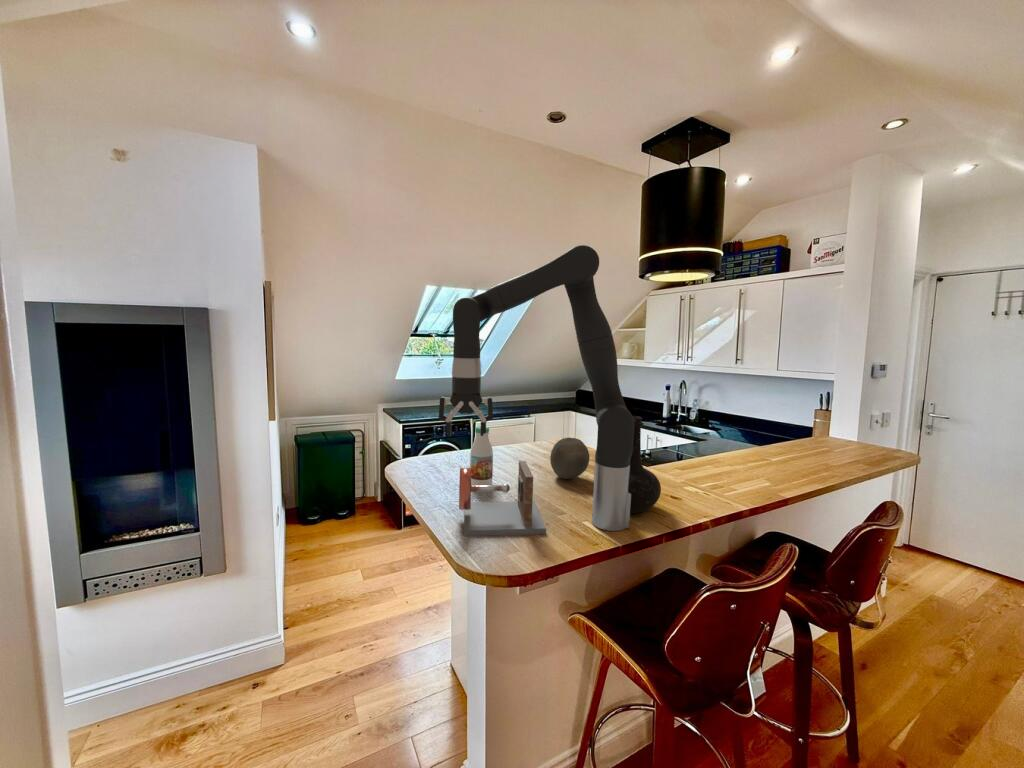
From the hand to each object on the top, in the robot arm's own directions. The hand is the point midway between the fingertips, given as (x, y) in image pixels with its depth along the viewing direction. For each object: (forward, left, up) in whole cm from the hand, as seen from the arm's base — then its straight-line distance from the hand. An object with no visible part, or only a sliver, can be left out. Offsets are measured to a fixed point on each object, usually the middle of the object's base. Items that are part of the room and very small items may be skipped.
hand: (465, 435), depth 111 cm
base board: (-10, 0, -24) cm, 26 cm away
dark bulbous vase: (-49, -7, -24) cm, 55 cm away
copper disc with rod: (-5, 0, -20) cm, 21 cm away
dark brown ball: (-37, -33, -24) cm, 55 cm away
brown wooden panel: (-16, 0, -22) cm, 28 cm away
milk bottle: (-5, -28, -24) cm, 37 cm away
